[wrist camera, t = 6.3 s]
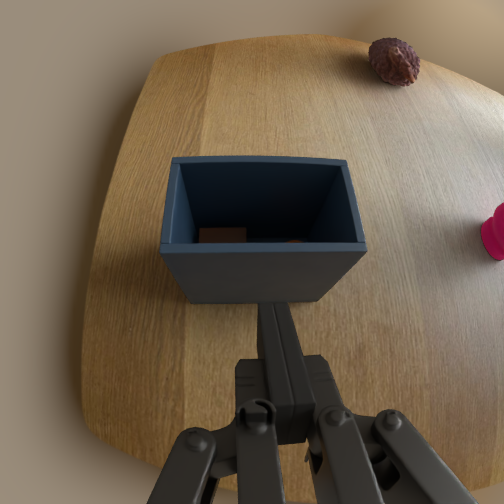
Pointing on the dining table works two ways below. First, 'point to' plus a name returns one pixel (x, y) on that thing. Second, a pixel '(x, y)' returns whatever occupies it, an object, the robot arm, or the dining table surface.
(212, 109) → the dining table surface
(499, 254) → the pepper mill
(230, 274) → the gray box
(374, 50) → the pine cone
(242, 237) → the walnut block
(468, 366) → the dining table surface
